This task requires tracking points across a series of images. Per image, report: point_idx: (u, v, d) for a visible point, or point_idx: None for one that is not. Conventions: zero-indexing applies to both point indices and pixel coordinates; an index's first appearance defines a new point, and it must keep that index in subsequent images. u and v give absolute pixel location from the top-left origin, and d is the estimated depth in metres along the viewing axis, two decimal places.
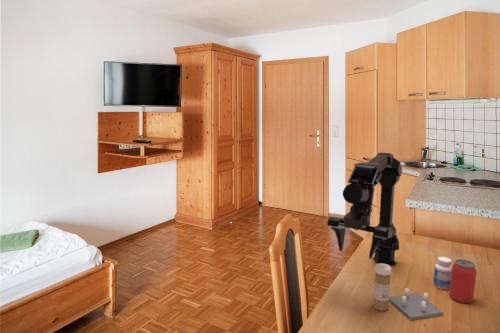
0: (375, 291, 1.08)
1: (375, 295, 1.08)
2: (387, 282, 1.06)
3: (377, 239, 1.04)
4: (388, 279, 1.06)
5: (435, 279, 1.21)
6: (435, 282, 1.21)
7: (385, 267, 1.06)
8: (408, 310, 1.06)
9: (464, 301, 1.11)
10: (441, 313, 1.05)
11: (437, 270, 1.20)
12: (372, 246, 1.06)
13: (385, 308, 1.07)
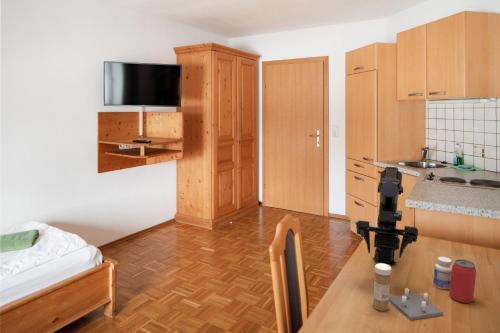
0: (375, 291, 1.08)
1: (375, 295, 1.08)
2: (387, 282, 1.06)
3: (408, 236, 1.13)
4: (388, 279, 1.06)
5: (435, 279, 1.21)
6: (435, 282, 1.21)
7: (385, 267, 1.06)
8: (408, 310, 1.06)
9: (464, 301, 1.11)
10: (441, 313, 1.05)
11: (437, 270, 1.20)
12: (402, 244, 1.13)
13: (385, 308, 1.07)
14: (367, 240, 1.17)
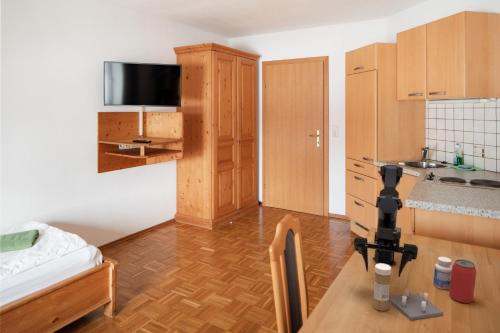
0: (375, 291, 1.08)
1: (375, 295, 1.08)
2: (387, 282, 1.06)
3: (407, 254, 1.09)
4: (388, 279, 1.06)
5: (435, 279, 1.21)
6: (435, 282, 1.21)
7: (385, 267, 1.06)
8: (408, 310, 1.06)
9: (464, 301, 1.11)
10: (441, 313, 1.05)
11: (437, 270, 1.20)
12: (401, 263, 1.09)
13: (385, 308, 1.07)
14: (365, 258, 1.13)
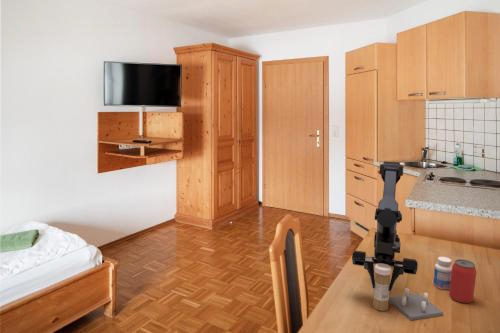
0: (375, 291, 1.08)
1: (375, 295, 1.08)
2: (387, 282, 1.06)
3: (398, 268, 1.06)
4: (388, 279, 1.06)
5: (435, 279, 1.21)
6: (435, 282, 1.21)
7: (385, 267, 1.06)
8: (408, 310, 1.06)
9: (464, 301, 1.11)
10: (441, 313, 1.05)
11: (437, 270, 1.20)
12: (392, 277, 1.07)
13: (385, 308, 1.07)
14: (371, 274, 1.09)
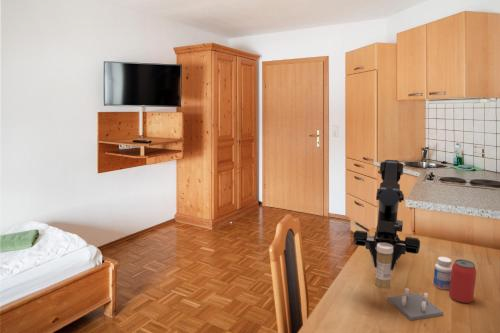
0: (377, 270, 1.06)
1: (377, 274, 1.07)
2: (389, 261, 1.04)
3: (401, 247, 1.05)
4: (390, 258, 1.05)
5: (435, 279, 1.21)
6: (435, 282, 1.21)
7: (387, 246, 1.05)
8: (408, 310, 1.06)
9: (464, 301, 1.11)
10: (441, 313, 1.05)
11: (437, 270, 1.20)
12: (394, 256, 1.05)
13: (387, 287, 1.06)
14: (373, 253, 1.08)
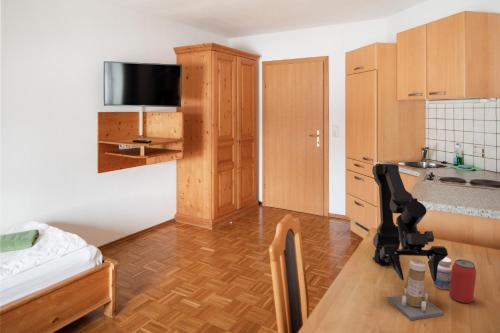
0: (411, 288, 1.07)
1: (411, 292, 1.07)
2: (423, 278, 1.06)
3: (439, 257, 1.07)
4: (424, 274, 1.06)
5: None
6: (435, 282, 1.21)
7: (420, 263, 1.06)
8: (408, 310, 1.06)
9: (464, 301, 1.11)
10: (441, 313, 1.05)
11: (437, 270, 1.20)
12: (435, 267, 1.07)
13: (421, 304, 1.07)
14: (398, 266, 1.07)
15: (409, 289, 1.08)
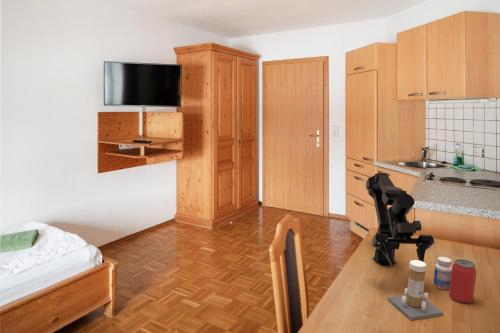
0: (411, 289, 1.07)
1: (411, 293, 1.07)
2: (423, 278, 1.06)
3: (426, 245, 1.16)
4: (424, 275, 1.06)
5: (435, 279, 1.21)
6: (435, 282, 1.21)
7: (420, 263, 1.06)
8: (408, 310, 1.06)
9: (464, 301, 1.11)
10: (441, 313, 1.05)
11: (437, 270, 1.20)
12: (422, 253, 1.16)
13: (421, 304, 1.07)
14: (388, 253, 1.17)
15: (409, 289, 1.08)
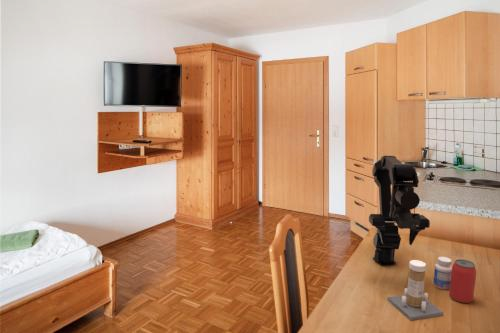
0: (411, 288, 1.07)
1: (411, 292, 1.07)
2: (423, 278, 1.06)
3: (420, 229, 1.20)
4: (424, 275, 1.06)
5: (435, 279, 1.21)
6: (435, 282, 1.21)
7: (420, 263, 1.06)
8: (408, 310, 1.06)
9: (464, 301, 1.11)
10: (441, 313, 1.05)
11: (437, 270, 1.20)
12: (414, 235, 1.22)
13: (421, 304, 1.07)
14: (382, 235, 1.23)
15: (409, 289, 1.08)
